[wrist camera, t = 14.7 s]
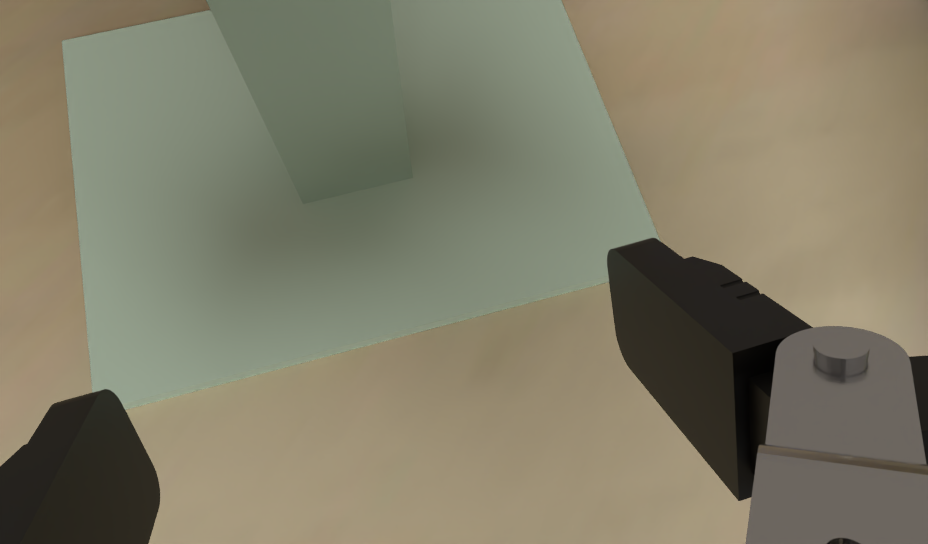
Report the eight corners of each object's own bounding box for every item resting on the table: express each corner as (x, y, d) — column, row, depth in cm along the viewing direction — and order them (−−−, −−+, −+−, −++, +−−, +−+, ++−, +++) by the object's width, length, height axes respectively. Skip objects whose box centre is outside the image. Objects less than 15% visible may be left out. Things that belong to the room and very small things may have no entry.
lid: (111, 417, 20) (-266, 295, 9) (77, 59, 24) (-206, -290, 14) (658, 272, 21) (844, 35, 11) (534, -37, 26) (584, -412, 16)
